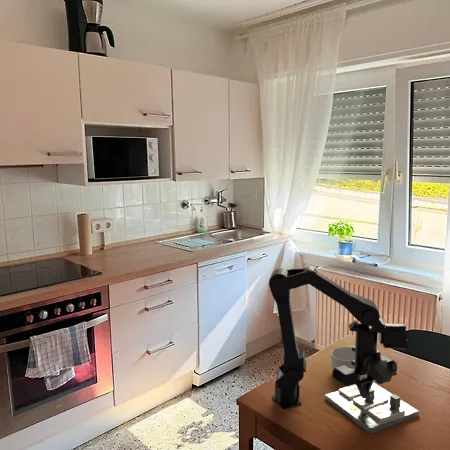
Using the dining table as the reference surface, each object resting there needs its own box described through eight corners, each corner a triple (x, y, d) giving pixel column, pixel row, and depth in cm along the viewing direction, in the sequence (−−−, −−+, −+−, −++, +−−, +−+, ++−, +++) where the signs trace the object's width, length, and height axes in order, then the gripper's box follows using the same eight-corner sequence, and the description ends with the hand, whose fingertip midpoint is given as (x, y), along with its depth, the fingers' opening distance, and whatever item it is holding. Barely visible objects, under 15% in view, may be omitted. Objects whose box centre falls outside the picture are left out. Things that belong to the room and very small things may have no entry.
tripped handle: (369, 401, 119) (370, 391, 118) (364, 397, 120) (364, 388, 120) (374, 399, 119) (374, 390, 119) (369, 396, 121) (369, 386, 121)
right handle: (395, 409, 115) (395, 399, 114) (389, 405, 117) (390, 395, 116) (400, 407, 116) (400, 397, 115) (394, 404, 117) (394, 394, 117)
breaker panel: (369, 433, 109) (369, 424, 108) (325, 399, 125) (325, 391, 124) (418, 415, 116) (419, 407, 116) (370, 385, 132) (371, 377, 132)
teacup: (357, 387, 131) (358, 363, 130) (324, 377, 138) (325, 354, 137) (371, 370, 142) (372, 347, 141) (341, 361, 149) (341, 340, 148)
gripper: (360, 365, 105) (358, 422, 108) (413, 350, 113) (410, 404, 115) (331, 347, 115) (330, 400, 118) (382, 335, 123) (380, 385, 125)
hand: (363, 398), depth 119 cm, fingers closed
